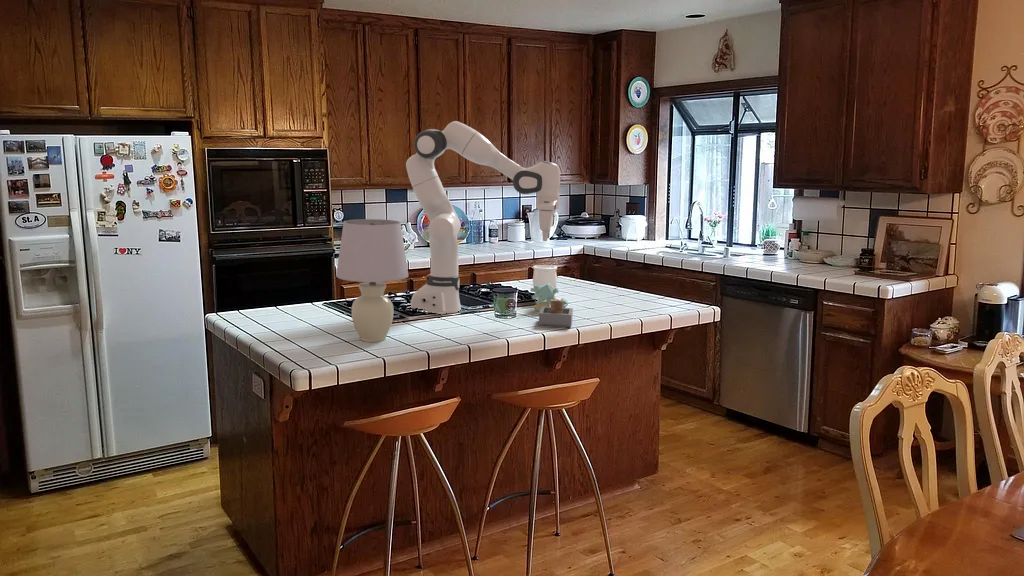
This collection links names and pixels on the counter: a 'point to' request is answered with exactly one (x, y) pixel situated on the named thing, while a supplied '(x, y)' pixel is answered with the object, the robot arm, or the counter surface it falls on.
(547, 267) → the jar
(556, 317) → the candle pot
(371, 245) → the lamp
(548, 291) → the toy
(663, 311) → the counter surface
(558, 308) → the tan wooden brick
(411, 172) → the robot arm
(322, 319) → the counter surface
